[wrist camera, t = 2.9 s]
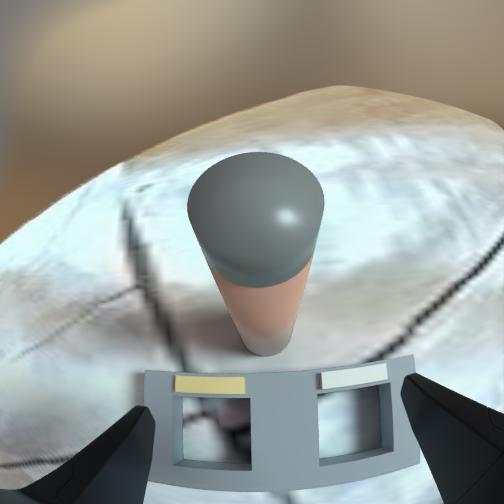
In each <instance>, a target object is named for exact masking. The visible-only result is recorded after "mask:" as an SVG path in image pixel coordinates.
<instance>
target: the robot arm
mask: <svg viewBox="0 0 504 504" xmlns="http://www.w3.org/2000/svg"><path fill="white" fill-rule="evenodd" d="M400 395H401V399H402V402H403V405H404V408H405V411H406V413H407V416H408V419H409V422H410V425H411V428H412V431H413V433H414V435H415V437H416V439H417V442H418V444H419V446H420V448H421V450H422V452H423V455H424V457H425V459H426V461H427V464H428V466H429V468H430V471H431V473H432V475H433V478H434V480H435V482H436V485H437V487H438V490H439V492H440V495H441V497H442V500H443V502H444V504H504V414H503V413H501V412H498V411H496V410H494V409H491V408H489V407H488V408H487V406H485V405H482V404H480V403H478V402H476V401H474V400H472V399H469V398H467V397H465V396H463V395H461V394H459V393H457V392H455V391H452V390H450V389H448V388H446V387H444V386H442V385H440V384H438V383H436V382H434V381H432V380H430V379H428V378H426V377H424V376H422V375H420V374H418V373H412V374H409V375H406V376H405V377H404V380H403V384H402V388H401V392H400ZM155 428H156V423H155V420H154V418H153V416H152V414H151V412H150V410H149V408H148V407H147V406H141V405H137V406H135V407H134V408H132V409H131V410H130V411H129V412H128V413H126V414H125V415H124V416H123V417H122V418H120V419H119V420H118V421H117V422H116V423H114V424H113V425H112V426H111V427H110V428H108V429H107V430H106V431H105V432H103V433H102V434H101V435H100V436H99V437H97V438H96V439H95V440H94V441H92V442H91V443H90V444H89V445H87V446H86V447H85V448H84V449H82V450H81V451H80V452H78V453H77V454H76V455H75V456H73V458H71V459H69V460H68V461H67V462H65V463H64V464H63V465H61V466H60V467H58V468H57V469H56V470H54V471H52V472H51V473H49V474H48V475H46V476H44V477H42V478H41V479H39V480H37V481H35V482H34V483H32V484H30V485H28V486H26V487H24V488H21V489H17V490H7V489H0V504H143V501H144V496H145V491H146V486H147V482H148V477H149V472H150V468H151V463H152V457H153V447H154V437H155Z"/></svg>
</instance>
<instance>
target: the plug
mask: <svg viewBox="0 0 504 504" xmlns="http://www.w3.org/2000/svg"><path fill="white" fill-rule="evenodd" d="M187 211H188V217H189V220H190V223H191V225H192V228H193V230H194V233H195V235H196V237H197V240H198V242H199V245H200V247H201V249H202V252H203V254H204V256H205V259H206V261H207V263H208V266H209V268H210V270H211V273H212V275H213V277H214V279H215V282H216V284H217V286H218V288H219V291H220V293H221V295H222V297H223V300H224V302H225V304H226V306H227V308H228V311H229V313H230V315H231V317H232V319H233V321H234V324H235V326H236V328H237V330H238V332H239V334H240V336H241V339H242V341H243V343H244V344H245V346H246V347H247V349H248V350H250V351H251V352H252V353H254V354H256V355H259V356H273V355H276V354H278V353H280V352H281V351H282V350H284V349H285V348H286V346H287V345H288V343H289V341H290V338H291V335H292V332H293V328H294V325H295V321H296V318H297V314H298V311H299V307H300V304H301V300H302V296H303V293H304V289H305V285H306V281H307V278H308V274H309V270H310V266H311V262H312V258H313V254H314V250H315V246H316V242H317V237H318V233H319V229H320V224H321V220H322V216H323V211H324V195H323V190H322V188H321V185H320V183H319V182H318V180H317V178H316V177H315V176H314V175H313V173H312V172H311V171H310V170H308V169H307V168H306V167H305V166H303V165H302V164H301V163H299V162H297V161H295V160H293V159H291V158H289V157H286V156H283V155H279V154H274V153H267V152H250V153H243V154H239V155H235V156H231V157H228V158H226V159H224V160H221V161H219V162H218V163H216V164H214V165H213V166H211V167H210V168H208V169H207V170H206V171H205V172H204V173H203V174H202V175H201V176H200V177H199V178H198V179H197V181H196V182H195V184H194V185H193V187H192V189H191V191H190V194H189V197H188V203H187Z"/></svg>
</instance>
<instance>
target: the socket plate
mask: <svg viewBox="0 0 504 504" xmlns="http://www.w3.org/2000/svg"><path fill="white" fill-rule="evenodd" d="M412 373H416V371H415V363H414V356H413V354H412V355H408V356H403V357H398V358H393V359H387V360H382V361H376V362H370V363H364V364H357V365H350V366H342V367H334V368H325V369H316V370H305V371H292V372H275V373H248V374H208V373H181V372H165V371H153V370H145V377H144V406H147V407H148V408H149V410H150V412H151V414H152V416H153V418H154V420H155V423H156V428H155V437H154V447H153V457H152V463H151V468H150V472H149V477H148V481H151V482H156V483H161V484H167V485H173V486H179V487H186V488H194V489H204V490H216V491H233V492H273V491H290V490H302V489H311V488H319V487H326V486H333V485H339V484H344V483H350V482H355V481H359V480H364V479H368V478H372V477H376V476H380V475H384V474H387V473H391V472H394V471H398V470H401V469H404V468H407V467H410V466H413V465H416V464H419V463H420V446H419V444H418V442H417V439H416V437H415V435H414V433H413V431H412V428H411V425H410V422H409V419H408V416H407V413H406V411H405V408H404V405H403V402H402V399H401V395H400V392H401V388H402V384H403V380H404V377H405V376H406V375H409V374H412ZM375 385H378V386H379V399H380V414H381V441H382V447H381V448H377V449H373V450H368V451H364V452H359V453H354V454H348V455H343V456H337V457H330V458H323V459H319V430H318V406H317V394H321V393H329V392H337V391H344V390H351V389H357V388H363V387H369V386H375ZM183 396H186V397H205V398H250V409H251V451H252V463H218V462H204V461H193V460H184V459H183Z"/></svg>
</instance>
